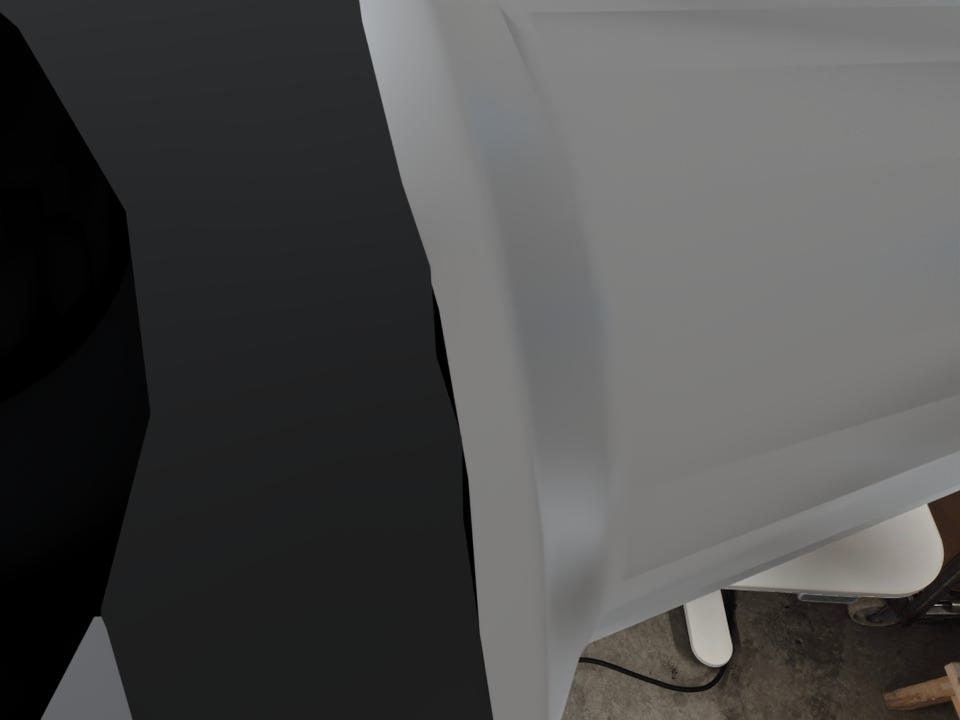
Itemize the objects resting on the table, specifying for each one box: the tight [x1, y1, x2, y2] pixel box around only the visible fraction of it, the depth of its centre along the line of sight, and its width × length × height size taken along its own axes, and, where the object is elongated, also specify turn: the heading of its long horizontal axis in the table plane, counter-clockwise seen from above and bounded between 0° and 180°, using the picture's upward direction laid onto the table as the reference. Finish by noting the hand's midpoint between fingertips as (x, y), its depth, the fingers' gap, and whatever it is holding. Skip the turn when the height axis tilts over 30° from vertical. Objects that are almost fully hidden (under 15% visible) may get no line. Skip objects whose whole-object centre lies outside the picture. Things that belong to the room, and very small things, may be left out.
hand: (511, 232), depth 51 cm, fingers open, 13 cm apart
